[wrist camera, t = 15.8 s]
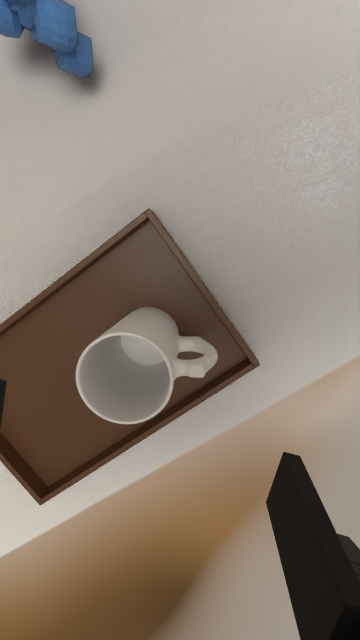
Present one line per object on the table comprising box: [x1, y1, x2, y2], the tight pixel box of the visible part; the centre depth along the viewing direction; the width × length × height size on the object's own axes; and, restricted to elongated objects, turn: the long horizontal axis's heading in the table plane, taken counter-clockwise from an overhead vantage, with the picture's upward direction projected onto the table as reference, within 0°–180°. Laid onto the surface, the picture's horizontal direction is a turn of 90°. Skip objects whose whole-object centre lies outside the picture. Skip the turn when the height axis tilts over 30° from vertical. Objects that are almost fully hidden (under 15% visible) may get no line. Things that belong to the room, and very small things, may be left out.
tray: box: [0, 209, 260, 505], centre depth 35 cm, size 29×18×2 cm, turn 126°
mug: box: [76, 307, 218, 424], centre depth 28 cm, size 10×7×12 cm, turn 92°
